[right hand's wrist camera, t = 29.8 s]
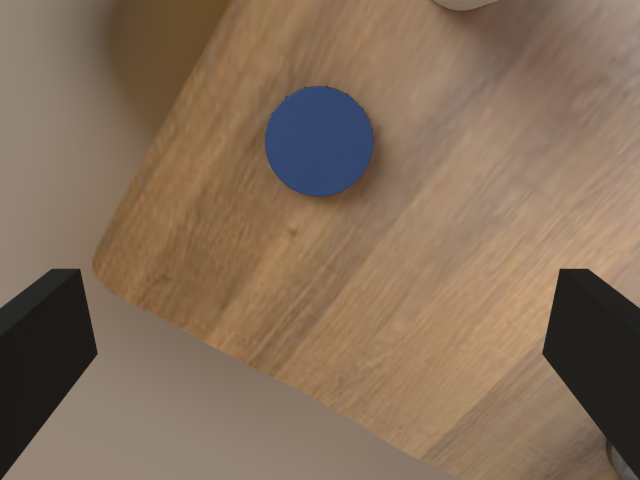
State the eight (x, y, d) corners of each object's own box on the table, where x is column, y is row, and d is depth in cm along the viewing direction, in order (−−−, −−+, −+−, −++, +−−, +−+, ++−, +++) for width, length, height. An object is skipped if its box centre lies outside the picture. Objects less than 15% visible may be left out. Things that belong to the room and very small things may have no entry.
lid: (314, 62, 38) (314, 62, 36) (392, 136, 40) (395, 139, 38) (246, 144, 41) (243, 148, 39) (322, 209, 43) (323, 216, 41)
